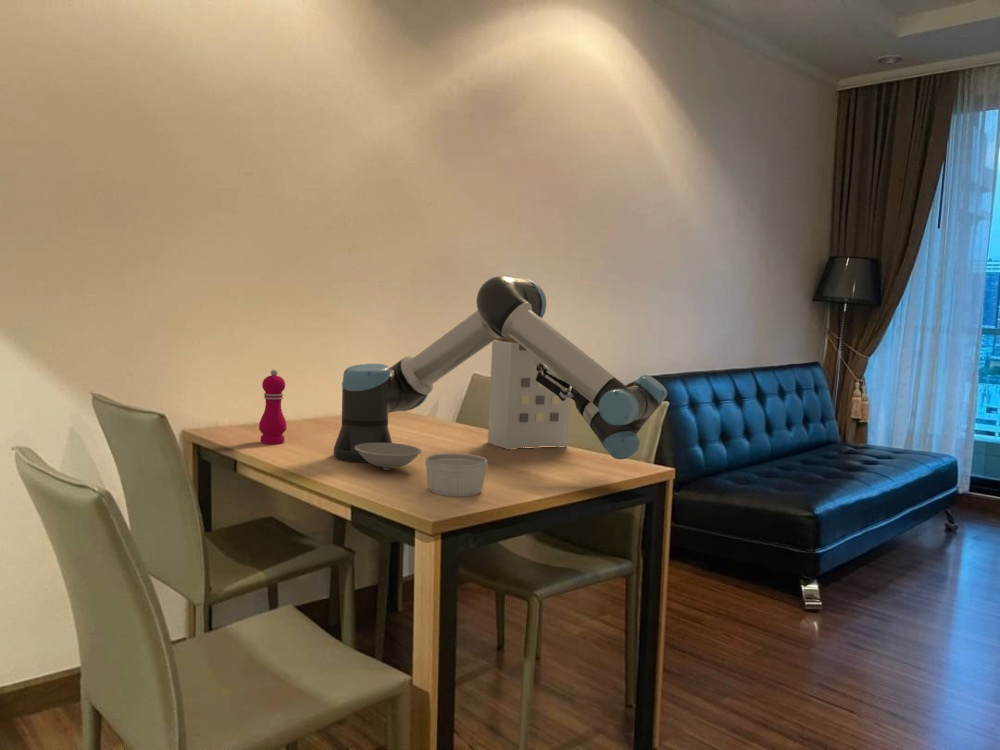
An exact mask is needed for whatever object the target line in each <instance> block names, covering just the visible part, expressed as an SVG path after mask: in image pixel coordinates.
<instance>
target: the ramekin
mask: <svg viewBox="0 0 1000 750" xmlns="http://www.w3.org/2000/svg"><path fill="white" fill-rule="evenodd" d="M424 464H425V467H426V482H427V486H428V489H429V490H430V492H432V493H434V494H436V495H438V496H439V495H440V496H443V497H444V496H447V497H459V498H460V497H472V496H475V495H478V494H479V493H480V492H481V491H482V490H483V488H484V483H485V478H486V470H487V467H488V459H486V458H485V457H483V456H480V455H474V454H469V453H457V452H456V453H455V452H454V453H453V452H451V453H448V452H447V453H436V454H431V455H428V456H426V457H425V462H424Z"/></svg>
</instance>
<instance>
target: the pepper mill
mask: <svg viewBox="0 0 1000 750" xmlns="http://www.w3.org/2000/svg"><path fill="white" fill-rule="evenodd" d="M261 384H262V385H261V387H262V389H263V390H264V393H263V396H264V397H263V399H265V406H264V411H263V413H262V416H261V418H260V421H259V424H258V429H259V431H260V433H261V434H262V435H260V443H261V444H263V445H282V444H284V443H285V435H283V434H284V433H285V431H286V430H287V421H286V418H285V415H284V414H283V411H282V400H283V399H284V396H283V395H284V393H283V391H284V390H285V388H286V382H285V379H284V378H283V377H282V376H280V375H278V370H276V369H272V370H271V371H270V375H268V376H266V377H265V378H264V379H263V380H262V383H261Z"/></svg>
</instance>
